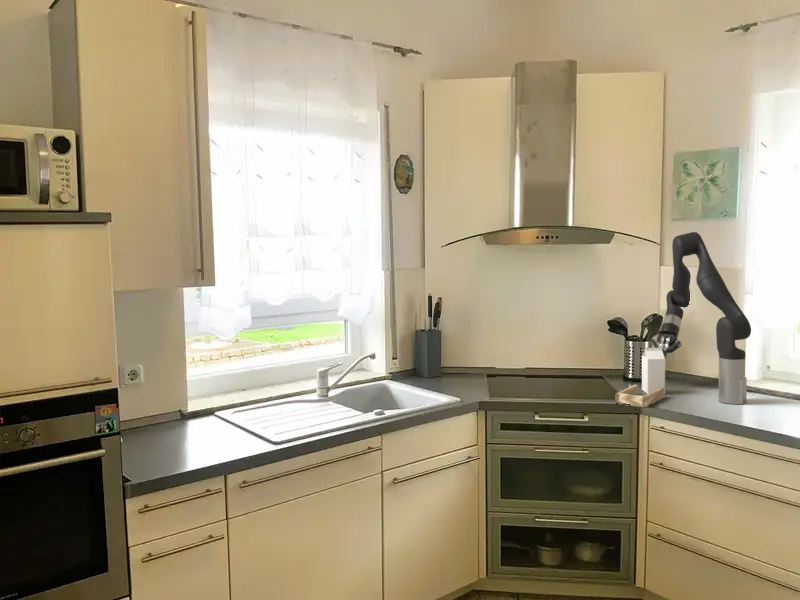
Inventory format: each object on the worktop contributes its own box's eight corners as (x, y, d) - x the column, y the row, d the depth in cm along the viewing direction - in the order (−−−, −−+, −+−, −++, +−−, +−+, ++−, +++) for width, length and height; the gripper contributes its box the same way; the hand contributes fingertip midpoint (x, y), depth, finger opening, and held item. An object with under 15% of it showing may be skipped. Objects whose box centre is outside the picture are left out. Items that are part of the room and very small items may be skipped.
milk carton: (665, 394, 279) (665, 349, 278) (647, 395, 279) (647, 349, 278) (658, 391, 286) (658, 346, 285) (641, 391, 286) (641, 346, 285)
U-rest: (663, 397, 275) (663, 387, 274) (646, 407, 259) (646, 397, 259) (634, 394, 282) (634, 384, 282) (615, 403, 266) (615, 393, 266)
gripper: (653, 321, 300) (643, 352, 291) (684, 322, 292) (675, 355, 283) (657, 331, 305) (647, 363, 296) (688, 333, 296) (679, 365, 288)
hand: (661, 359), depth 290 cm, fingers closed
